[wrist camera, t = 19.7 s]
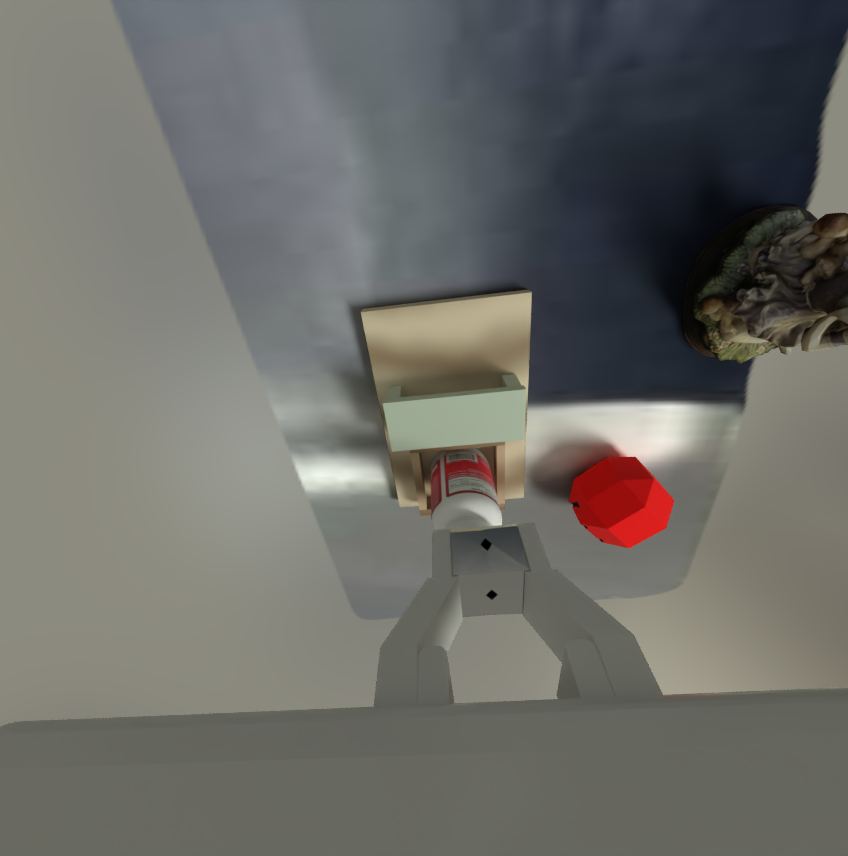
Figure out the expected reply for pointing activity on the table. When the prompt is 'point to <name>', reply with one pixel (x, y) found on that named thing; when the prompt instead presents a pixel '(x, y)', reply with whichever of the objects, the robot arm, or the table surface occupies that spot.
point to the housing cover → (456, 416)
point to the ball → (620, 501)
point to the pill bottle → (463, 491)
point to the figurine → (770, 285)
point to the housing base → (451, 374)
